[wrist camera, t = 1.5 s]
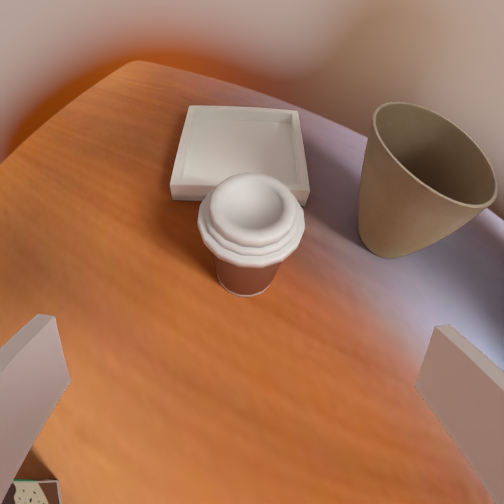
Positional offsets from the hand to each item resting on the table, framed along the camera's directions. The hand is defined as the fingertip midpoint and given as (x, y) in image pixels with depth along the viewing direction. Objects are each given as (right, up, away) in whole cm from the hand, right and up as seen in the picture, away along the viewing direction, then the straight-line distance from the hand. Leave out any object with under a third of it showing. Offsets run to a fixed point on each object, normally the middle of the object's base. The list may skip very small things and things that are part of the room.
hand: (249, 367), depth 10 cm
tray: (-2, +17, +35) cm, 39 cm away
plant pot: (+17, +6, +30) cm, 35 cm away
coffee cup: (-1, +1, +26) cm, 26 cm away
